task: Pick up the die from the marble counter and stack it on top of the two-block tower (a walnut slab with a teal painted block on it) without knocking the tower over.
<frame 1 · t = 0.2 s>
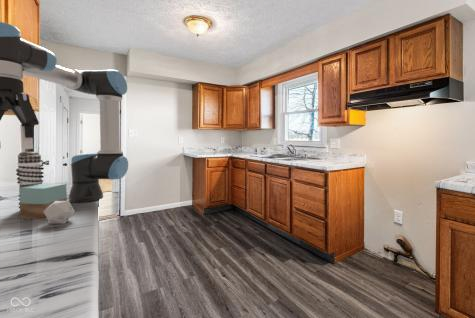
hand: (10, 148, 76), 27 cm above the countertop, tool pointing down, fingers open, 13 cm apart
die: (60, 223, 90), on the countertop
tower base: (45, 215, 100), on the countertop, touching tower top
tower top: (44, 200, 99), point 6 cm above the countertop, touching tower base
decorative candle: (32, 209, 107), on the countertop
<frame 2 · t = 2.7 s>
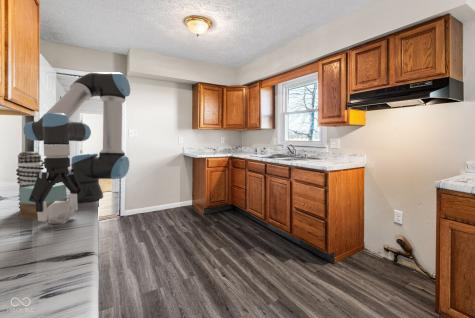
hand: (59, 215, 90), 3 cm above the countertop, tool pointing down, fingers open, 13 cm apart
nothing on the countertop moved.
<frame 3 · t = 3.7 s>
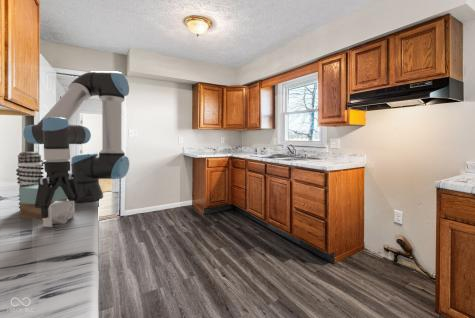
hand: (60, 221, 90), 0 cm above the countertop, tool pointing down, fingers closed on die, 9 cm apart
die: (60, 223, 90), on the countertop, touching gripper
everything else where it was.
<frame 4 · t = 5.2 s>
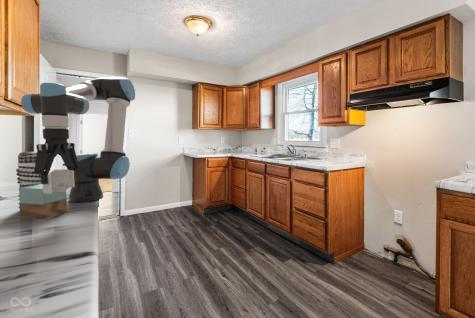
hand: (59, 189, 90), 12 cm above the countertop, tool pointing down, fingers closed on die, 9 cm apart
die: (60, 191, 90), point 11 cm above the countertop, touching gripper
everything else where it was.
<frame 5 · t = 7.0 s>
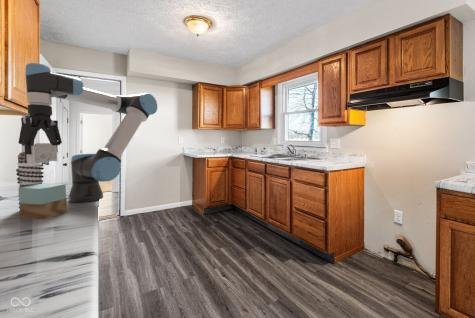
hand: (43, 161, 98), 21 cm above the countertop, tool pointing down, fingers closed on die, 9 cm apart
die: (42, 163, 98), point 21 cm above the countertop, touching gripper
tower base: (44, 215, 100), on the countertop
tower top: (43, 200, 99), point 6 cm above the countertop
everything else where it was.
when the fingers open (13 cm above the countertop, at t = 8.9 s): die drops 1 cm, resting on tower top.
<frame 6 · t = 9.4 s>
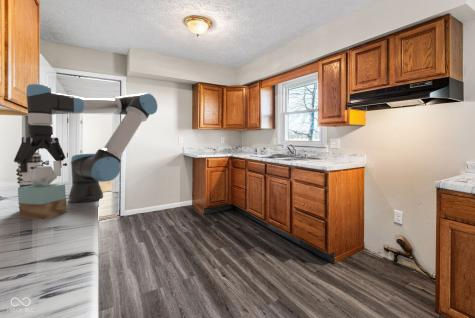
hand: (43, 178, 99), 15 cm above the countertop, tool pointing down, fingers open, 13 cm apart
die: (43, 186, 99), point 12 cm above the countertop, touching tower top
tower base: (44, 215, 99), on the countertop, touching tower top
tower top: (43, 200, 99), point 6 cm above the countertop, touching die, tower base
everything else where it was.
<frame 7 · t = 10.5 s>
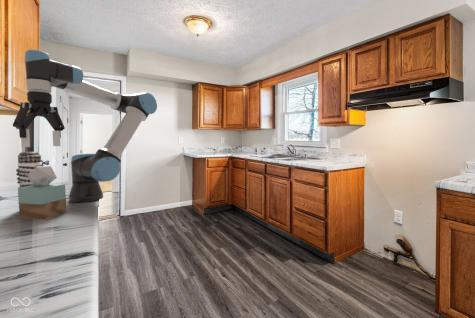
hand: (42, 146, 98), 27 cm above the countertop, tool pointing down, fingers open, 13 cm apart
nothing on the countertop moved.
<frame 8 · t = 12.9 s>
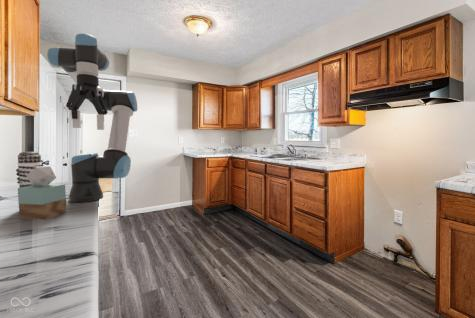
hand: (89, 128, 100), 35 cm above the countertop, tool pointing down, fingers open, 13 cm apart
nothing on the countertop moved.
at the end: die 0.6 cm from the tower top (horizontally); die point 11.5 cm above the countertop; tower top 0.2 cm off-centre on the tower base, point 6.0 cm above the tower base's base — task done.
